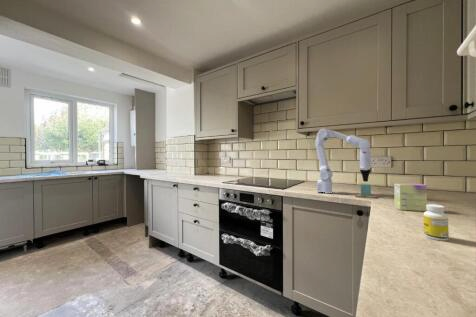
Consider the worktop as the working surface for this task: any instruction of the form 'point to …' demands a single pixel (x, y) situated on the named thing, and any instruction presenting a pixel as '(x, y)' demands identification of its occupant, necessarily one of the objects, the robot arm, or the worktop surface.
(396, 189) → the box
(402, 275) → the worktop surface
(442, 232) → the supplement bottle
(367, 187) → the teal rectangular block
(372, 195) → the post board
